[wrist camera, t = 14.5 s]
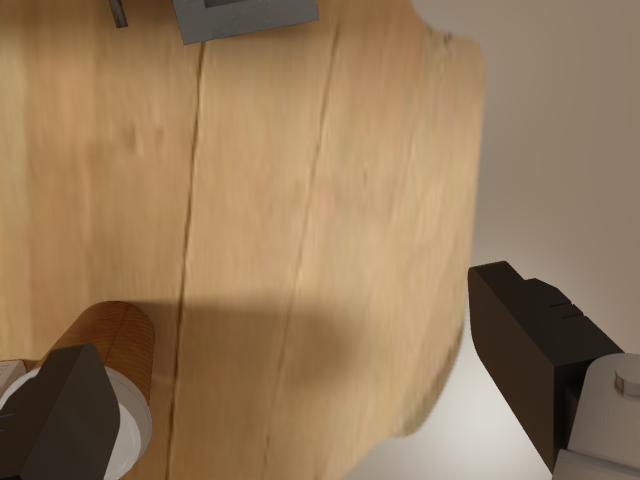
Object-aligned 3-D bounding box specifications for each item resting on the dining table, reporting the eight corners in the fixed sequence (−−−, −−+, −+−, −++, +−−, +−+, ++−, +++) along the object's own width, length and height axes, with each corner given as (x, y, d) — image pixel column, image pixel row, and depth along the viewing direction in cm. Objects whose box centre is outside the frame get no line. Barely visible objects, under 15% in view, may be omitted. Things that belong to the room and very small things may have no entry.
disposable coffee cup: (113, 400, 48) (70, 519, 37) (27, 327, 44) (-48, 434, 33) (198, 341, 46) (180, 446, 35) (117, 260, 43) (69, 349, 32)
